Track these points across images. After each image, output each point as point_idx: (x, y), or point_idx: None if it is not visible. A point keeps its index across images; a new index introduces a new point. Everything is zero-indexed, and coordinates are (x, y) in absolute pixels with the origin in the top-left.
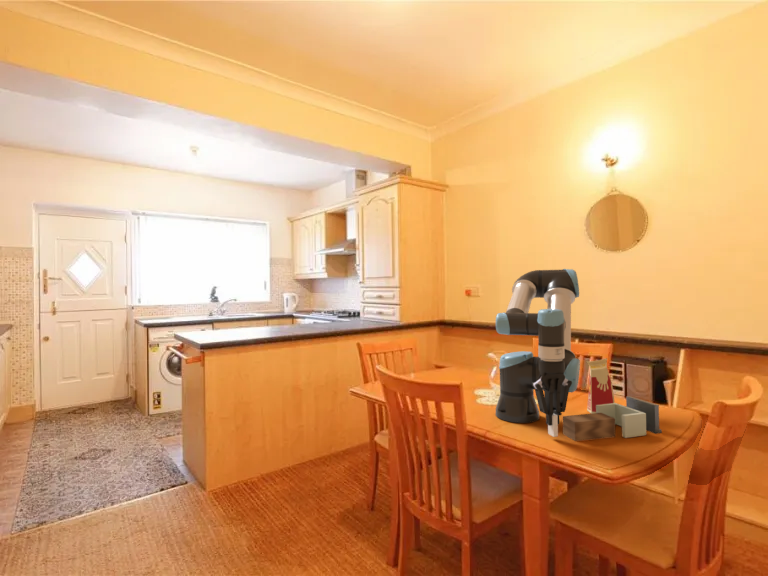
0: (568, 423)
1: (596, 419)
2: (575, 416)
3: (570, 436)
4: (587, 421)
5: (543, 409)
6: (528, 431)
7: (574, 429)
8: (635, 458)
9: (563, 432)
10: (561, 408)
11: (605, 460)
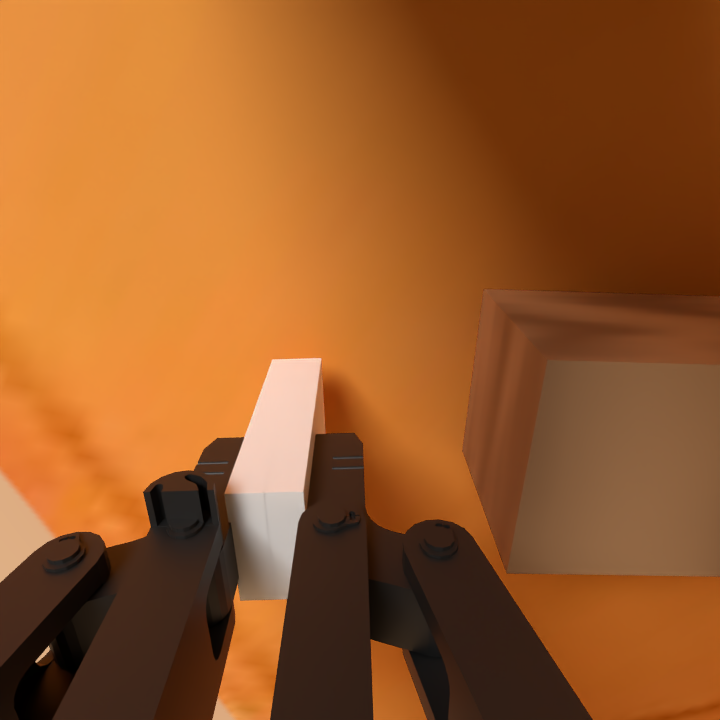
0: (508, 442)
1: None
2: (698, 416)
3: (473, 403)
4: (670, 572)
5: (23, 694)
6: (172, 107)
7: (486, 509)
8: (591, 716)
9: (486, 304)
10: (408, 657)
11: (411, 703)
